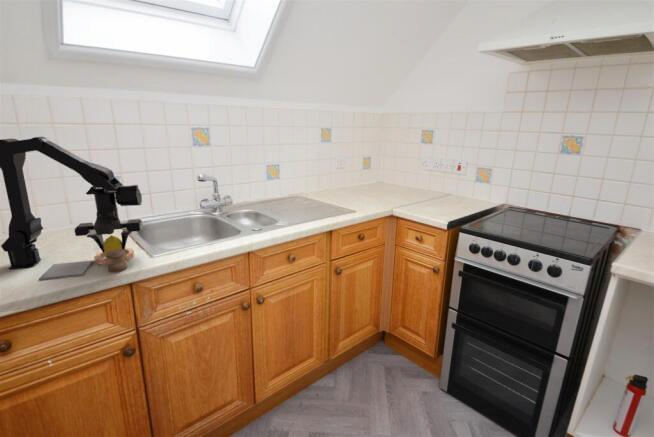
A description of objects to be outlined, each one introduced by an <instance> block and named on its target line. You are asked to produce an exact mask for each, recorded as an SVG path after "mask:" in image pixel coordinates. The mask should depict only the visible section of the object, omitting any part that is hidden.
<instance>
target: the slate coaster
mask: <svg viewBox="0 0 654 437" xmlns="http://www.w3.org/2000/svg"><path fill="white" fill-rule="evenodd" d="M93 263H94V260H93V259H92V260H91V259H90V260H83V261H82V260H81V261H70V262H62V263H61V262H60V263H53V264H52V265H51V266H50V267H49V268H48V269H47V270H46V271H45V272H44V273H42V275H41V276H40V277H39V278H38V280H39V281H45V280H53V279H54V280H55V279H64V278H71V277H80V276H85V273H86V272H87V271H88V269H89V268H90V267H91V266H92V264H93Z"/></svg>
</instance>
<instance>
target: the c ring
mask: <svg viewBox="0 0 654 437" xmlns="http://www.w3.org/2000/svg"><path fill="white" fill-rule="evenodd" d="M134 256H135V250H134V249H133V248H131V247H125V258H126V262H127V261H129V260H130V259H133V258H134ZM104 257H105V258H104ZM93 259H94V260H93V261H94V262H95V263H97V264H98V265H108V263H107V258H106V256H105V253H103V252H102V251H100V252H97V253H96V254H95V255H94V256H93Z"/></svg>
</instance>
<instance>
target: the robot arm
mask: <svg viewBox="0 0 654 437" xmlns="http://www.w3.org/2000/svg"><path fill="white" fill-rule="evenodd" d="M30 152H38V153H41V154H42V155H44V156H46V157H48V158H50V159H51V160H54V161H56V163H60V164H61V165H63V166H65V167H67V168H68V169H71V170H72V171H74V172H76V173H77V174H78V175H80V177H81V178H82V179H83V180H84V181H86V182H87V183H88V184H90V185H91V187H90V188H89V190H87V191H86V192H85V195H94V202H95V208H96V218H95V222H94V223H93V222H84V223H83V222H82V223H79V224H78V225H77V226H76V227H75V228H74V235H75V237H81V236H84V237H85V236H86V238H90V239H92V240H93V241H95V243H96V244H97V246H98V247H99V248H100V251H101V252H103V253H105V251H104V241H105V240H104V237H103V235H113V234H114V233H115V230H122V231H121V233H120V236H121V242H122V249H124V250H125V248H127V247H126V245H127V241H128V238H129V235H131V234H132V233H133V232H140V231H141V230H142V228H143V226H144V225H143V221H142V219H140V218H139V219H138V218H136V219H129V220H128V221H127V222H122V223H121V219H120V218H119V212H118V211H119V210H118V206H117V205H120V206H121V207H129V206H130V207H132V206H134V207H135V206H141V205H142V203H143V202H142V201H143V197H142V196H143V195H142V193H141V190H140V189H139V185H138V184H132V185H124V184H122V182H120V180H118V179H117V178H116V177H115V174H114V171H112V170H111V168H108V167H106V166H103V165H101V164H96V163H93V162H90V161H87V160H85V159H84V158H81V157H80V156H78V155H76V154H75V153H73V152H71V151H69V150H67V149H65V148H63V147H62V146H60V145H58V144H56V143H54V142H53V141H51V140H49V139H48V138H47V137H45V136H35V137H31V138H28V139H20V140H19V139H16V138H11V137H10V138H3V139H0V169H1V172H2V177H3V181H4V186H5V192H6V195H7V201H8V205H9V210H10V215H11V217H10V221H9V224H8V238H7V239H6V240H5V241H4V242H3V243H2V244H1V245H0V248H1V249H2V250H3V251H4V252H5V253H6V252H7V256H8V259H9V263H10V266H8V267H7V268H8V270H13V269H24V268H31V267H34V266H35V265H37V264H38V263H39V262H41V260H42V258H41V257H40V252H39V249H38V248H36V242H37V241H38V237H39V236H40V235H41V234H42V230H44V227H43V226H42V219H41V218H42V217H35V216H34V214H32V211H31V206H30V200H29V193H28V190H27V184H26V180H25V174H24V170H23V169H24V165H25V162H26V155H27V154H26V153H30Z"/></svg>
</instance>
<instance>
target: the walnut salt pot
mask: <svg viewBox="0 0 654 437" xmlns="http://www.w3.org/2000/svg"><path fill="white" fill-rule="evenodd" d="M125 255H126V253H125V250H124V249H115V250H110V251H108V252H106V253H105V258H107V268H108V272H109V273H121V272H124V271H126V270H127V268H128V264H127V261H126V258H125Z"/></svg>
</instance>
